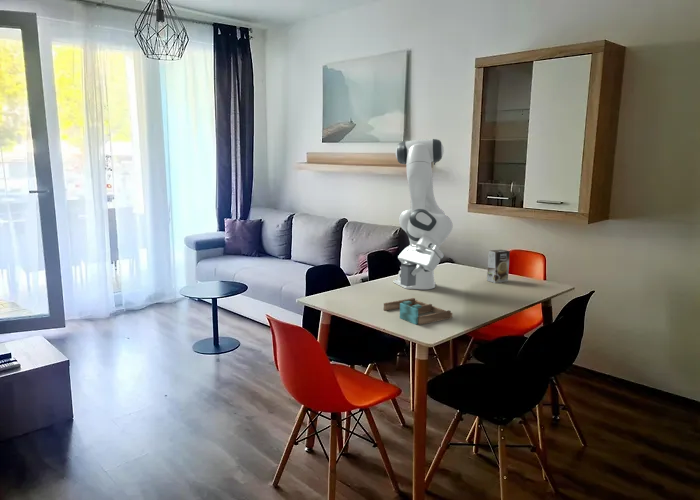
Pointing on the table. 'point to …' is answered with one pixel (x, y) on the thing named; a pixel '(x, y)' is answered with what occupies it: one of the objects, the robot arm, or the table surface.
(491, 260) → the coffee box
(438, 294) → the table surface
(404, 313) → the frame
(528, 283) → the table surface
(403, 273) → the tall grey block
